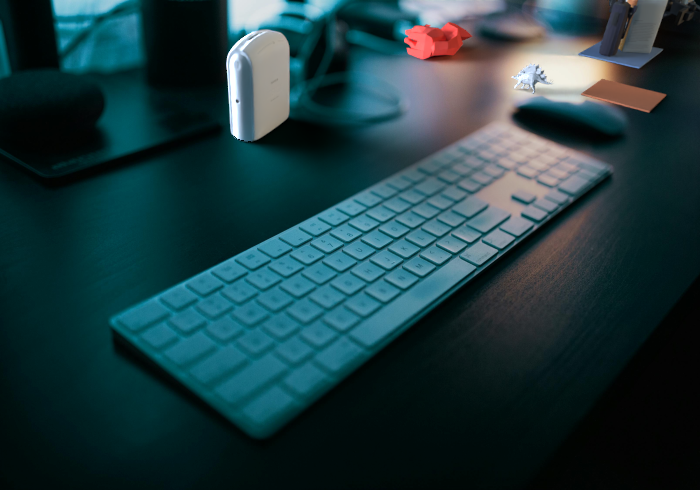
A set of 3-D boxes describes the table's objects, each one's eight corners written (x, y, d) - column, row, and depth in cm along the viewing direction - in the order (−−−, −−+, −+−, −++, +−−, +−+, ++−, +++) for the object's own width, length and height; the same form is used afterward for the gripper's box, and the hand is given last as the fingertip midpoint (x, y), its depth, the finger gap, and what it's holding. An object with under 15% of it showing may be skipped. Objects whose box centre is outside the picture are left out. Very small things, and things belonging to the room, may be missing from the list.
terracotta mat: (665, 96, 100) (666, 94, 99) (649, 112, 92) (649, 110, 92) (601, 80, 105) (602, 78, 105) (581, 94, 97) (581, 93, 97)
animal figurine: (478, 49, 117) (482, 23, 114) (445, 66, 106) (450, 37, 103) (426, 38, 122) (430, 12, 119) (390, 53, 111) (393, 25, 108)
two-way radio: (601, 49, 122) (624, -29, 113) (623, 53, 120) (649, -26, 112) (596, 55, 118) (620, -26, 109) (619, 59, 116) (645, -22, 108)
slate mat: (662, 50, 126) (663, 49, 125) (638, 68, 113) (639, 67, 112) (606, 38, 131) (607, 37, 131) (578, 54, 118) (578, 53, 118)
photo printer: (255, 145, 73) (252, 44, 66) (226, 137, 74) (220, 38, 67) (293, 118, 81) (294, 26, 74) (266, 112, 82) (265, 21, 75)
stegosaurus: (548, 97, 95) (556, 69, 92) (507, 88, 98) (513, 60, 95) (552, 93, 97) (559, 65, 94) (511, 84, 100) (517, 57, 97)
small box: (605, 41, 128) (625, -23, 120) (633, 43, 128) (654, -21, 121) (621, 52, 121) (642, -16, 114) (650, 53, 121) (674, -14, 114)
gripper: (718, 26, 135) (700, 42, 120) (610, 6, 147) (582, 18, 132) (732, -9, 131) (715, 4, 116) (620, -26, 143) (591, -17, 128)
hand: (644, 12), depth 124 cm, fingers open, 13 cm apart
